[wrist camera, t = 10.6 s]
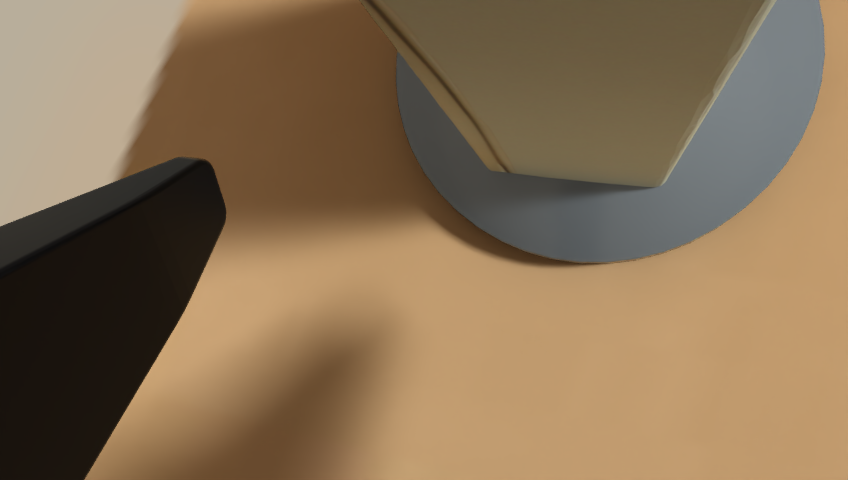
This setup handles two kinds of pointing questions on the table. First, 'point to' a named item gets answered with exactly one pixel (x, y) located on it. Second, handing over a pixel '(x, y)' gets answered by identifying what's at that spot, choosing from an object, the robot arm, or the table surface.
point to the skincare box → (574, 77)
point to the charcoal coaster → (635, 205)
